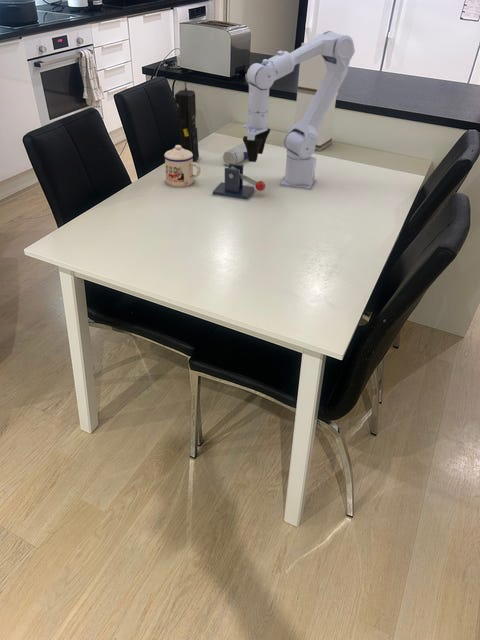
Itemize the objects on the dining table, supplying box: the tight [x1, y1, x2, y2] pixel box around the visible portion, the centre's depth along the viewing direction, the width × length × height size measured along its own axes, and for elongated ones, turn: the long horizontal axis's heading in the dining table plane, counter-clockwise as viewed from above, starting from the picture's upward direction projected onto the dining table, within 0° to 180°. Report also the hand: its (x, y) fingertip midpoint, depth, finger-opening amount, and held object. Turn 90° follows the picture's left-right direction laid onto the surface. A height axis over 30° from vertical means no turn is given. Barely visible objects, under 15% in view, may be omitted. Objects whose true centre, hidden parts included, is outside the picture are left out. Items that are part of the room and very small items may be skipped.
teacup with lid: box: [163, 144, 201, 187], centre depth 160 cm, size 12×9×12 cm
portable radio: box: [174, 82, 200, 163], centre depth 172 cm, size 8×6×25 cm
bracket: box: [212, 163, 255, 200], centre depth 156 cm, size 11×8×8 cm
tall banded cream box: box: [294, 42, 339, 152], centre depth 186 cm, size 11×11×35 cm
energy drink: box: [222, 142, 248, 167], centre depth 178 cm, size 5×5×12 cm
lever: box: [231, 166, 266, 192], centre depth 154 cm, size 12×3×3 cm, turn 74°
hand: (255, 157), depth 154 cm, fingers open, 7 cm apart
